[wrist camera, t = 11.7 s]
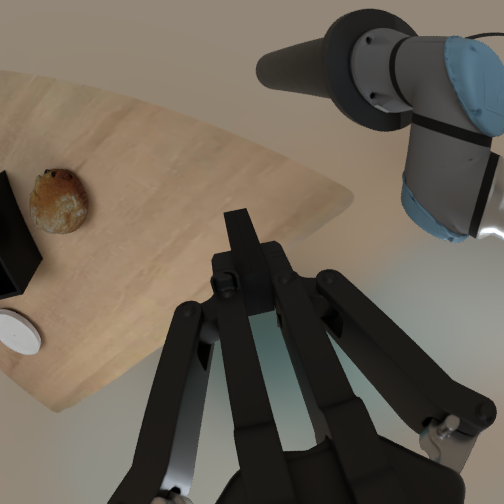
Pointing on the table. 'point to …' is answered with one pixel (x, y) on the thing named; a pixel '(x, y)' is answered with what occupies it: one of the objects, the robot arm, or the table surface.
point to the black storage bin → (14, 245)
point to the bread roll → (58, 202)
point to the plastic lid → (18, 333)
